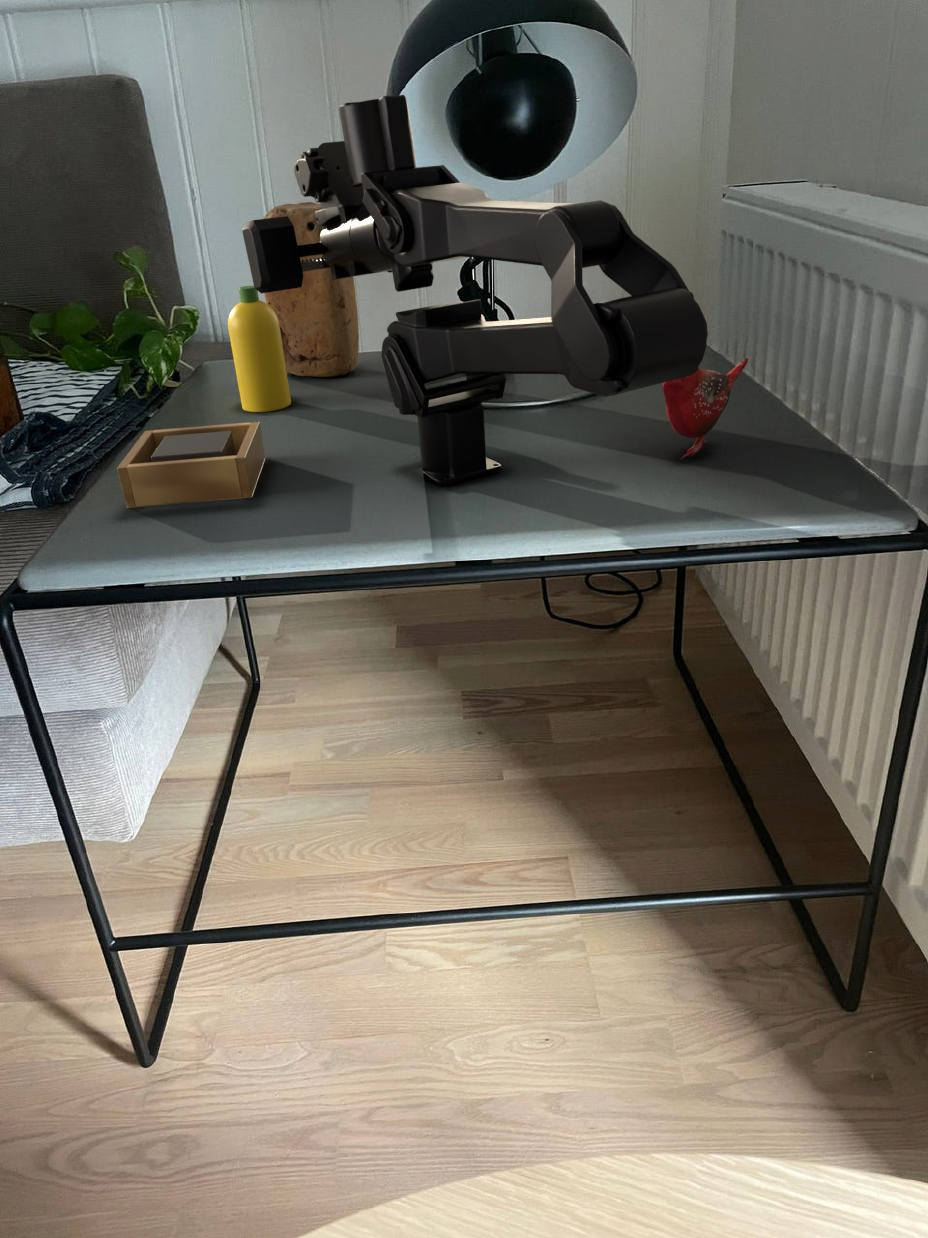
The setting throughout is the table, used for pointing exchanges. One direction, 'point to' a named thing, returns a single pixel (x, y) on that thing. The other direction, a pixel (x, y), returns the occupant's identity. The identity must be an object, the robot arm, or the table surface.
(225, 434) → the grey block
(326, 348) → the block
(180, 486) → the crate
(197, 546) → the table surface
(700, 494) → the table surface
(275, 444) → the table surface
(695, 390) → the decorative bird figurine
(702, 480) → the table surface
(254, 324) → the lemon bottle
